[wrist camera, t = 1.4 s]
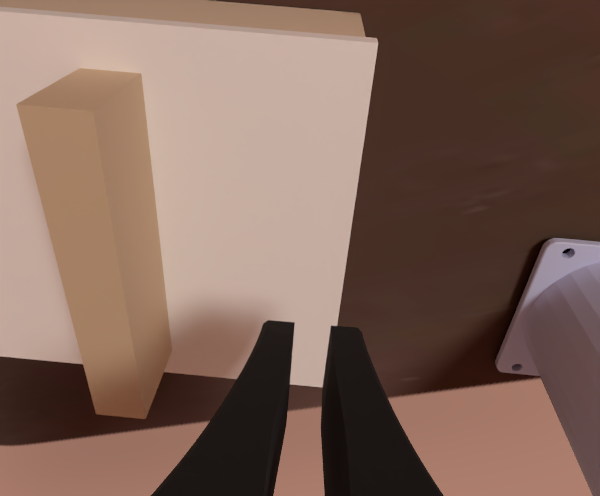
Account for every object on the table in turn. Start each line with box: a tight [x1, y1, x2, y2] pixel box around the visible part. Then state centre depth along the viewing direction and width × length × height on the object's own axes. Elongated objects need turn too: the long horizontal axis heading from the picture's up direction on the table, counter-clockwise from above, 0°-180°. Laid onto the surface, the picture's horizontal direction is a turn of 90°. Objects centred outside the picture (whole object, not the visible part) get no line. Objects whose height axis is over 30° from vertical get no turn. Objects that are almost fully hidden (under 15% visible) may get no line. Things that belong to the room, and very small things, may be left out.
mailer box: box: [0, 0, 365, 37], centre depth 18 cm, size 16×12×5 cm
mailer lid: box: [0, 7, 378, 419], centre depth 14 cm, size 16×12×4 cm
